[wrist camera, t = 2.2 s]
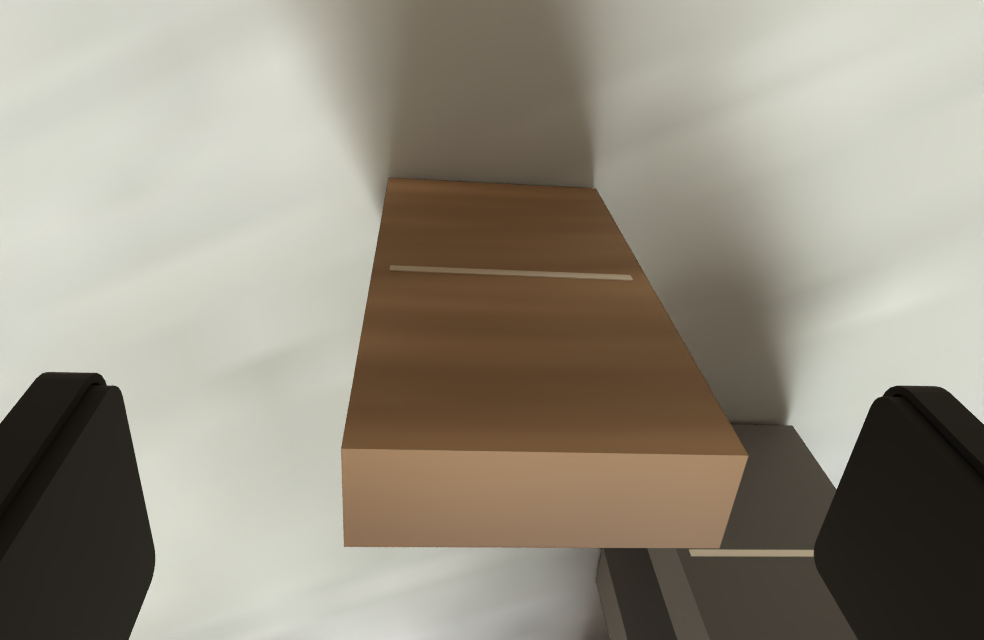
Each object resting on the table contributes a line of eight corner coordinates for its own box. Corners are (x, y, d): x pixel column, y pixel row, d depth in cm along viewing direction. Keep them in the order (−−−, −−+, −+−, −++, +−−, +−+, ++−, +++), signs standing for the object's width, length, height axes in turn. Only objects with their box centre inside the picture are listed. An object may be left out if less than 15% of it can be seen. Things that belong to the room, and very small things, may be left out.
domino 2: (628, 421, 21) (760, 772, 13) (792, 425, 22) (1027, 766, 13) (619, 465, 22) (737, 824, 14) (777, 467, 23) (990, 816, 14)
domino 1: (388, 176, 17) (341, 447, 9) (596, 187, 18) (748, 455, 9) (388, 241, 18) (344, 547, 9) (586, 249, 19) (719, 549, 10)
